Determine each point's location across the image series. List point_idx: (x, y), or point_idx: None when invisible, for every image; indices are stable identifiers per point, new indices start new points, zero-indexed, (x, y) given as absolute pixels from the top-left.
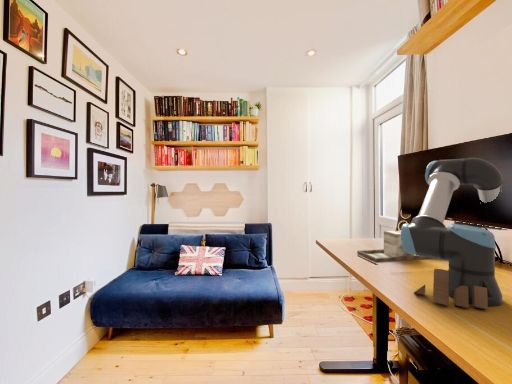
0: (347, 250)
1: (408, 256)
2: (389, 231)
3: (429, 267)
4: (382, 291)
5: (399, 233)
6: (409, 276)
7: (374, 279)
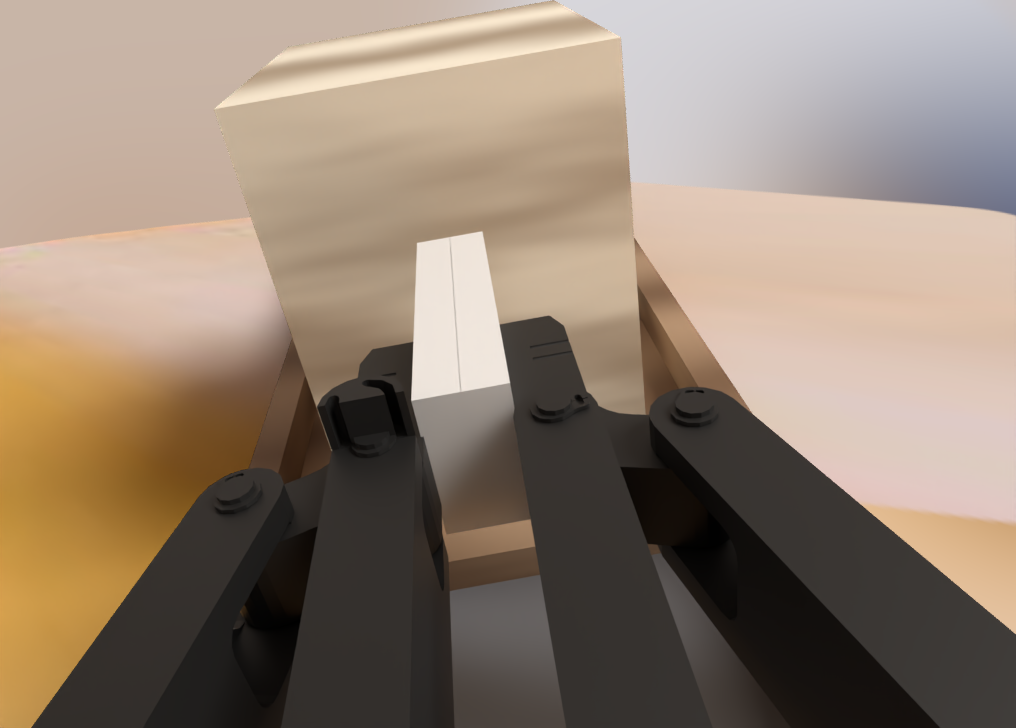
0: (811, 198)
1: (279, 392)
2: (521, 14)
3: (50, 570)
4: (25, 246)
5: (324, 51)
6: (45, 351)
7: (140, 243)
